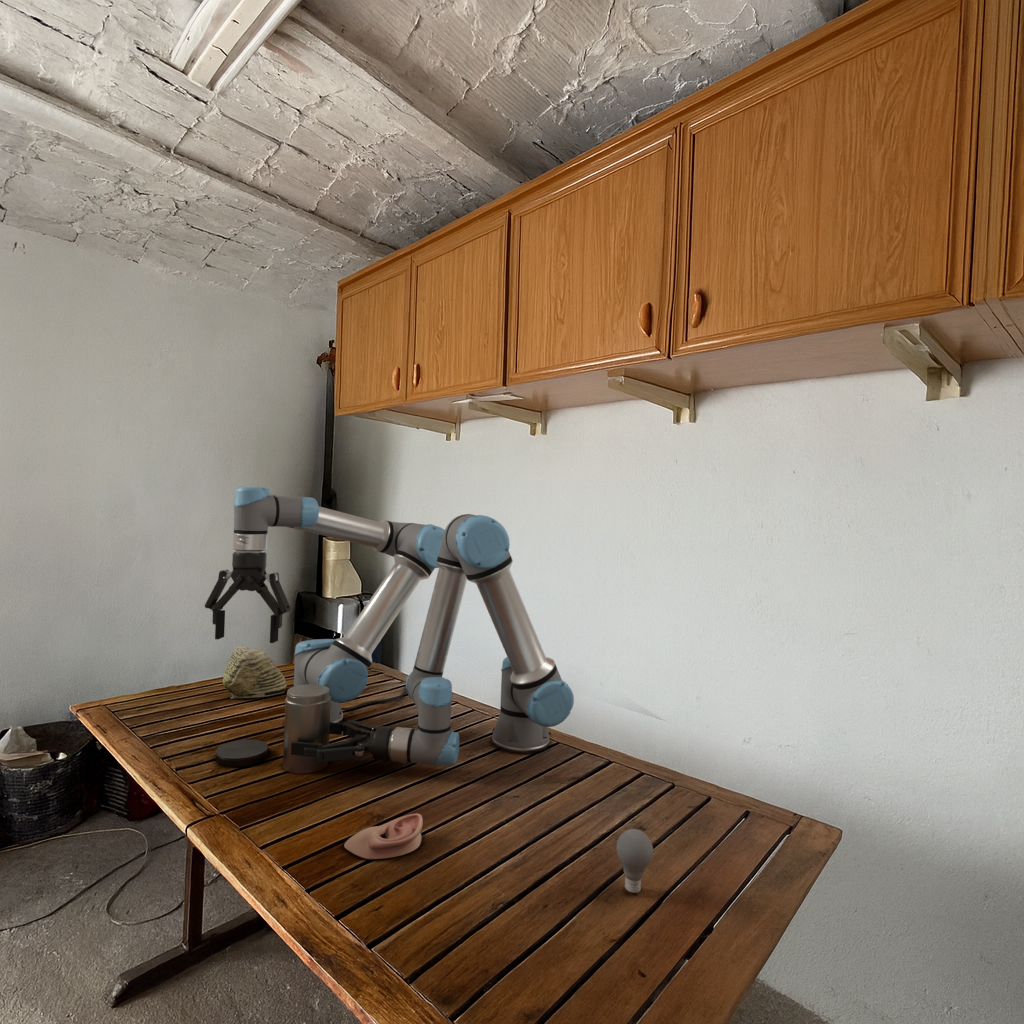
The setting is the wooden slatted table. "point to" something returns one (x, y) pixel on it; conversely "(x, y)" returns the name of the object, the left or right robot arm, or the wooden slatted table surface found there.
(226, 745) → the lid
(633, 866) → the light bulb
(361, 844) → the anatomical model
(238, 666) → the fossil
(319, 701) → the jar
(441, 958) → the wooden slatted table surface
